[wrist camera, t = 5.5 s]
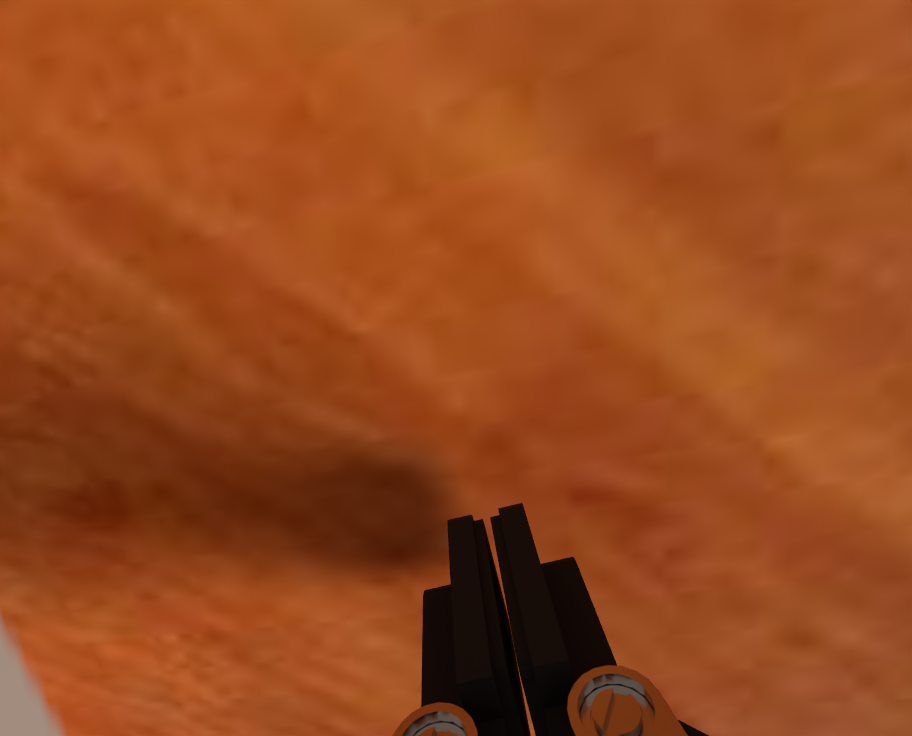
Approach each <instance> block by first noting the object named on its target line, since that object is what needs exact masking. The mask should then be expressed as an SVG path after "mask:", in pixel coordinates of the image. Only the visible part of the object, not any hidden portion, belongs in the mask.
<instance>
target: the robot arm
mask: <svg viewBox="0 0 912 736" xmlns="http://www.w3.org/2000/svg"><path fill="white" fill-rule="evenodd" d="M498 509H499V514H500V515H498V516H494V517H490V519H491V524H492V529H493V535H494V540H495V546H496V551H497V556H498V562H499V567H500V572H501V578H502V583H503V589H504V594H505V599H506V605H507V610H508V615H509V619H508V615H507V611H506V607H505V603H504V599H503V595H502V591H501V587H500V583H499V580H498V576H497V572H496V568H495V564H494V560H493V556H492V552H491V549H490V545H489V541H488V537H487V533H486V529H485V525H484V522H483V519H481V520H477V521H474V520H473V516H472V515H468V516H463V517H459V518H455V519H450V520H448V542H449V561H450V579H451V584H450V585H446V586H442V587H437V588H433V589H428V590H425V591H424V594H423V638H422V702H421V708H419V709H417V710H416V711H414V712H412V713H411V714H410V715H409V716H408V717H407V718H406V719H404V720H403V721H402V722H401V724H400V725H399V727H398V728H397V730H396V731H395V733H394V734H393V736H530V730H529V725H528V719H527V714H526V709H525V703H524V698H523V692H522V687H521V682H520V676H521V680H522V684H523V688H524V692H525V696H526V700H527V704H528V707H529V711H530V715H531V719H532V723H533V727H534V730H535V734H536V736H708V735H706V734H705V733H703V732H701V731H699V730H697V729H695V728H693V727H691V726H689V725H687V724H685V723H683V722H681V721H680V720H678V719H677V718H676V717H675V715H674V714H673V712H672V710H671V709H670V707H669V706H668V704H667V703H666V701H665V700H664V698H663V697H662V695H661V693H660V692H659V690H658V689H657V688H656V687H655V686H654V685H653V684H652V682H651V681H650V680H649V679H648V678H646V677H645V676H643V675H642V674H640V673H639V672H637V671H635V670H632V669H629V668H626V667H623V666H617V664H616V661H615V659H614V656H613V654H612V651H611V649H610V646H609V644H608V641H607V639H606V636H605V634H604V631H603V629H602V626H601V624H600V621H599V618H598V616H597V613H596V611H595V608H594V606H593V603H592V601H591V598H590V596H589V593H588V591H587V588H586V586H585V583H584V581H583V578H582V575H581V573H580V570H579V568H578V565H577V563H576V561H575V559H574V557H570V558H565V559H561V560H556V561H552V562H548V563H543V564H540V561H539V557H538V554H537V551H536V547H535V544H534V540H533V537H532V534H531V530H530V527H529V524H528V520H527V517H526V514H525V510H524V507H523V504H522V503H520V504H516V505H511V506H507V507H503V508H498ZM509 621H510V623H509ZM510 626H511V628H510ZM511 631H512V633H511ZM512 637H513V639H512ZM513 642H514V644H513ZM514 648H515V649H514ZM515 653H516V655H515ZM516 658H517V660H516ZM517 663H518V666H517ZM518 667H519V671H518ZM519 672H520V676H519Z"/></svg>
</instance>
